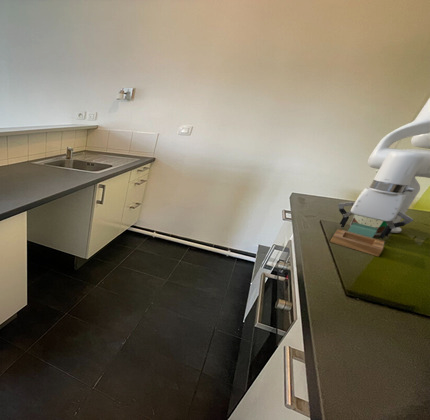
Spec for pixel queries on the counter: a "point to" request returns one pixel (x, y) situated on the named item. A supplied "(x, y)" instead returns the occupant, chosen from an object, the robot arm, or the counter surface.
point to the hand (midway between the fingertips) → (361, 231)
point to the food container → (371, 223)
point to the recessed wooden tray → (358, 242)
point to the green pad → (363, 229)
